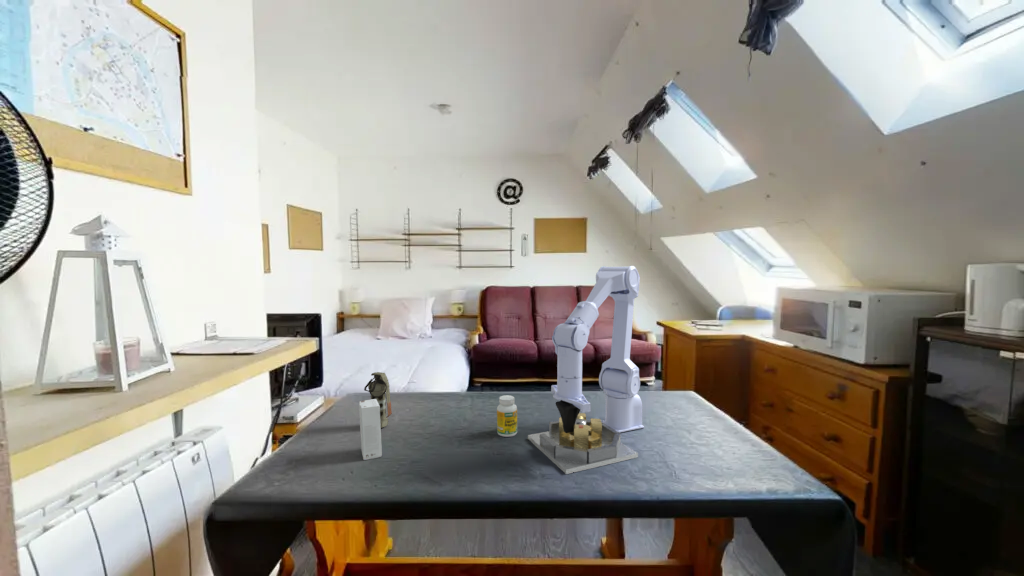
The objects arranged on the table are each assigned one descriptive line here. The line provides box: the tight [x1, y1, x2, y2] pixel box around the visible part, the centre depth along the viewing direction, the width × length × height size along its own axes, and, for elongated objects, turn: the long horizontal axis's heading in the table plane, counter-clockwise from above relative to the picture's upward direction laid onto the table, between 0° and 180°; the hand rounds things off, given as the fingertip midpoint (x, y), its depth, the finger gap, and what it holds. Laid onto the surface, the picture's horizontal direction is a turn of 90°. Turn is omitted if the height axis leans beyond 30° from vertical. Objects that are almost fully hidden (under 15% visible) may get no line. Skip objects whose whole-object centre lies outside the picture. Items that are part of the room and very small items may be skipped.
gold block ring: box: [558, 412, 602, 449], centre depth 95 cm, size 10×10×6 cm
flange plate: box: [527, 419, 639, 475], centre depth 95 cm, size 19×19×7 cm
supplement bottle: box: [496, 394, 518, 438], centre depth 104 cm, size 5×5×10 cm
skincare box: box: [358, 398, 383, 461], centre depth 93 cm, size 6×4×12 cm
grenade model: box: [363, 371, 393, 429], centre depth 108 cm, size 6×7×15 cm
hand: (569, 432), depth 92 cm, fingers closed, pressing on gold block ring
